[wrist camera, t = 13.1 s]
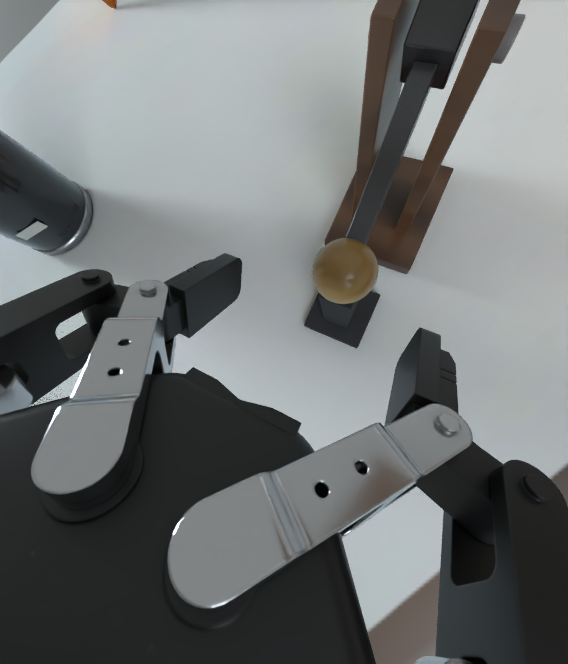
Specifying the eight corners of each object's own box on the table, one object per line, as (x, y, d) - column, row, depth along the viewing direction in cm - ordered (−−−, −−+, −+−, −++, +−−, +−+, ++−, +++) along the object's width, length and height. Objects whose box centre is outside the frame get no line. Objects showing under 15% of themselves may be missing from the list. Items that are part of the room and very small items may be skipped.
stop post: (304, 326, 25) (289, 304, 17) (326, 277, 26) (321, 232, 18) (357, 348, 24) (366, 336, 16) (379, 296, 24) (400, 258, 16)
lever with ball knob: (363, 310, 17) (360, 317, 13) (311, 289, 18) (295, 292, 14) (484, 33, 13) (522, -56, 9) (408, 24, 14) (419, -61, 10)
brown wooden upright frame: (406, 274, 24) (525, 108, 9) (324, 246, 26) (306, 69, 11) (448, 177, 25) (628, -139, 9) (365, 156, 27) (403, -134, 11)
